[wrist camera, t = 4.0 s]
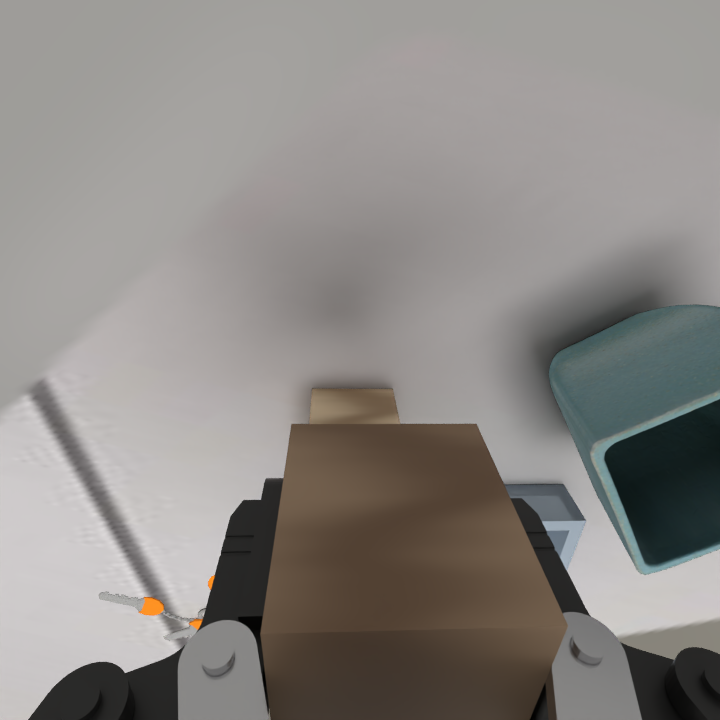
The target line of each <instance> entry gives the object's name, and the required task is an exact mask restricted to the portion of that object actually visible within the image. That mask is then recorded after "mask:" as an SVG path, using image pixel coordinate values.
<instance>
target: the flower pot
mask: <svg viewBox="0 0 720 720" xmlns="http://www.w3.org/2000/svg"><path fill="white" fill-rule="evenodd" d="M549 380H550V385H551V388H552V391H553V394H554V396H555V399H556V401H557V403H558V405H559V408H560V410H561V412H562V414H563V417H564V419H565V421H566V424H567V426H568V428H569V431H570V433H571V435H572V437H573V440H574V442H575V445H576V447H577V449H578V452H579V454H580V456H581V459H582V461H583V463H584V466H585V468H586V470H587V473H588V475H589V478H590V480H591V483H592V485H593V487H594V489H595V491H596V494H597V496H598V498H599V499H600V501H601V503H602V505H603V507H604V509H605V511H606V513H607V514H608V516H609V518H610V520H611V522H612V524H613V526H614V528H615V529H616V531H617V533H618V535H619V537H620V539H621V541H622V543H623V545H624V547H625V548H626V550H627V552H628V554H629V556H630V557H631V559H632V561H633V563H634V565H635V567H636V569H637V571H638V572H639V573H641V574H644V575H647V574H651V573H655V572H658V571H662V570H666V569H668V568H672V567H674V566H677V565H679V564H682V563H685V562H687V561H690V560H692V559H695V558H698V557H701V556H703V555H705V554H708V553H711V552H713V551H717V550H719V549H720V307H716V306H708V305H677V306H669V307H663V308H659V309H654V310H650V311H646V312H642V313H638V314H636V315H634V316H632V317H629V318H627V319H625V320H623V321H621V322H619V323H617V324H615V325H613V326H611V327H609V328H607V329H605V330H603V331H601V332H599V333H597V334H595V335H593V336H591V337H589V338H586V339H584V340H582V341H580V342H578V343H576V344H574V345H571V346H569V347H567V348H565V349H563V350H561V351H559V352H558V353H557V354H556V355H555V357H554V358H553V360H552V362H551V365H550V370H549Z"/></svg>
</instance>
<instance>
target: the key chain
mask: <svg viewBox="0 0 720 720" xmlns="http://www.w3.org/2000/svg"><path fill="white" fill-rule="evenodd" d="M214 577H215V575H214V576H212V577H211V578H210V579H209V581H208V586H209V588H210V590H211V588H212V584H213V580H214ZM108 593H109V592H105V593H103V592H101V593H100V594H99V599H101V600H106V601H110V602H115V603H120V604H124V605H129V606H133V607H135V608H136V609H137V610H138V611H139V613H142V614H144V615H157V614H160V613H161V612H162V613H163V614H164V615H167V616H168V617H170V618H173V619H175V620H180V621H186V622H190V623H189V624H190V626H189V627H188V628H185V629H182V630H179V631H177V632H174V633H171V634H168V635H166V636H164V638H165V639H166V640H169V641H170V640H174V639H177V638H181V637H184V638H188V637H189V635H194V634H195V633H196V632H197V630H198V629H199V627H200V625H201V623H202V620H203V617H202V614H203V613H205V610H206V609H203V610H201V611H200V612H199V613H198V617H199V618H196V619H194V618H190V619H188V618H182V617H176V616H175V615H171V614H170V613H168V612H166V611H165V610H164V604H163V603H162V602H161V601H160V600H157V599H155V598H152V597H144V598H142V599H139V600H138V598H136V597H135V598H132V597H131V599H130V598H128V596H125V595H122V596H118V595H119V594H115V595H112V594H108ZM181 639H182V638H181Z"/></svg>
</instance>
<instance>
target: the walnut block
mask: <svg viewBox="0 0 720 720" xmlns="http://www.w3.org/2000/svg"><path fill="white" fill-rule="evenodd" d="M567 628H568V624H567V622H566V620H565V618H564V616H563V613H562V611H561V609H560V607H559V605H558V602H557V600H556V598H555V596H554V594H553V591H552V589H551V587H550V585H549V583H548V580H547V578H546V576H545V574H544V572H543V569H542V567H541V565H540V563H539V561H538V558H537V556H536V554H535V552H534V550H533V547H532V545H531V543H530V541H529V539H528V536H527V534H526V532H525V530H524V528H523V525H522V523H521V521H520V519H519V517H518V514H517V512H516V510H515V508H514V506H513V503H512V501H511V499H510V497H509V495H508V492H507V490H506V488H505V486H504V484H503V481H502V479H501V477H500V475H499V473H498V470H497V468H496V466H495V464H494V462H493V459H492V457H491V455H490V453H489V451H488V448H487V446H486V444H485V442H484V440H483V437H482V435H481V433H480V431H479V429H478V426H477V424H292V425H291V432H290V438H289V445H288V452H287V459H286V465H285V472H284V479H283V485H282V492H281V499H280V506H279V512H278V519H277V526H276V532H275V539H274V546H273V552H272V559H271V566H270V573H269V579H268V586H267V593H266V599H265V606H264V613H263V620H262V626H261V633H260V635H261V643H262V652H263V660H264V668H265V676H266V684H267V693H268V701H269V709H270V717H271V720H530V718H531V715H532V713H533V710H534V708H535V705H536V703H537V701H538V698H539V696H540V693H541V691H542V688H543V686H544V684H545V681H546V679H547V676H548V674H549V671H550V669H551V667H552V664H553V662H554V659H555V657H556V655H557V652H558V650H559V647H560V645H561V642H562V640H563V638H564V635H565V633H566V630H567Z"/></svg>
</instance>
